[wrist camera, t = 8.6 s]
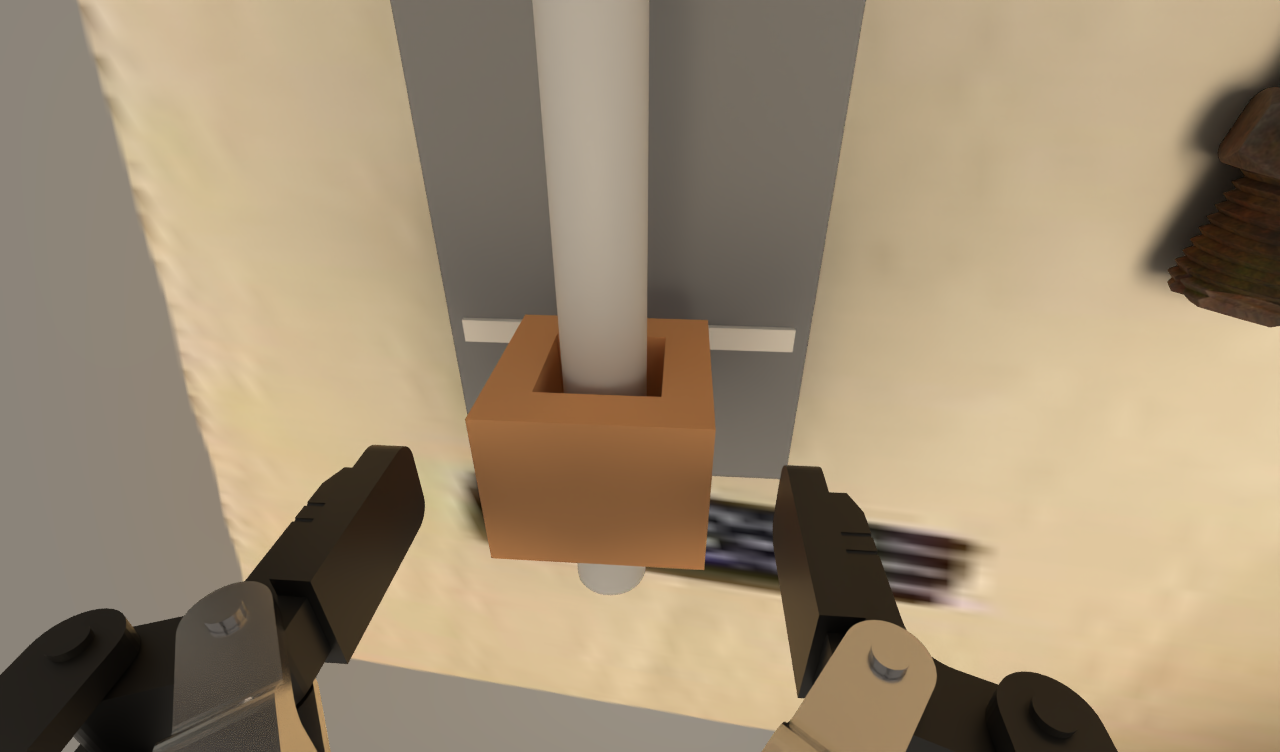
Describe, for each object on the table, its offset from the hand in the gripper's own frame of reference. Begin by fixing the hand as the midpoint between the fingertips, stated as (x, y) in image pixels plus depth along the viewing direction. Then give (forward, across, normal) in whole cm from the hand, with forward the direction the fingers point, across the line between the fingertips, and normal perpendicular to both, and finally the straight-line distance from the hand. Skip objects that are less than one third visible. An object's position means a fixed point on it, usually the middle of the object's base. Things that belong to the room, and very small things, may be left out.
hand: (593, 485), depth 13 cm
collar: (+5, 0, 0) cm, 5 cm away
